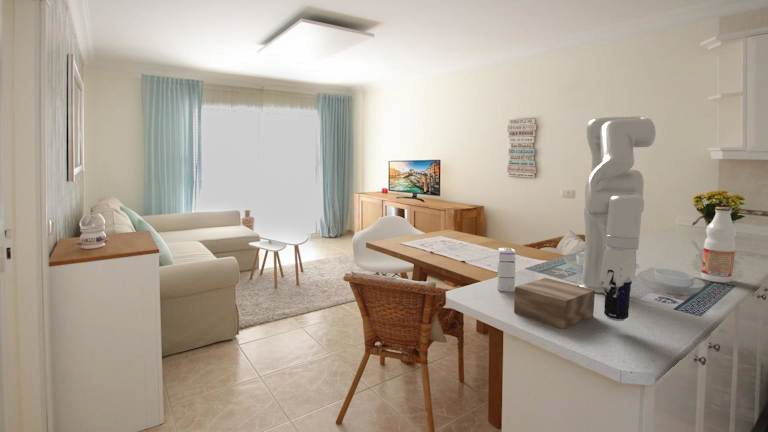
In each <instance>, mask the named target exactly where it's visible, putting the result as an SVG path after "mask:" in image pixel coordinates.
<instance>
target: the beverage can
mask: <svg viewBox="0 0 768 432" xmlns="http://www.w3.org/2000/svg"><path fill="white" fill-rule="evenodd" d="M611 284H612V285H615V284H616V283H613V282H612V283H611ZM631 286H632V284H631V280H630V277H628V278H627V280H626V281H625V282H624V285H623V286H621V287H619V291H618V295H617V297H618V298H619V301H618V311H617V312H612V311H609V310H606V309H605V308H604V310H603V311H604V313H603V314H604V315H605V317H607V319H608V320H612V321H615V322H624V321H625V320H626V319H628V318H629V313H630V312H629V311H630V299H631V291H632V288H631ZM611 289H613V290H614V291H615V288H614V287H611ZM630 290H631V291H630Z"/></svg>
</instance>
